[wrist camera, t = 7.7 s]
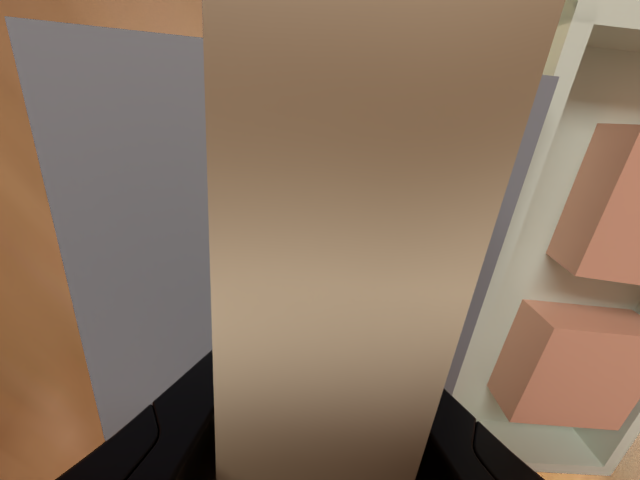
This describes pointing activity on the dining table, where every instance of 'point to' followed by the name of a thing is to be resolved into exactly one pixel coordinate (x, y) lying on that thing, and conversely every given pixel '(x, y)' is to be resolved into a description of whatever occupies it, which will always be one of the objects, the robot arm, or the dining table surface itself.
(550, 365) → the tile far
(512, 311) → the tray
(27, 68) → the board
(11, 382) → the dining table surface
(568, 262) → the tile near
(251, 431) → the strip
